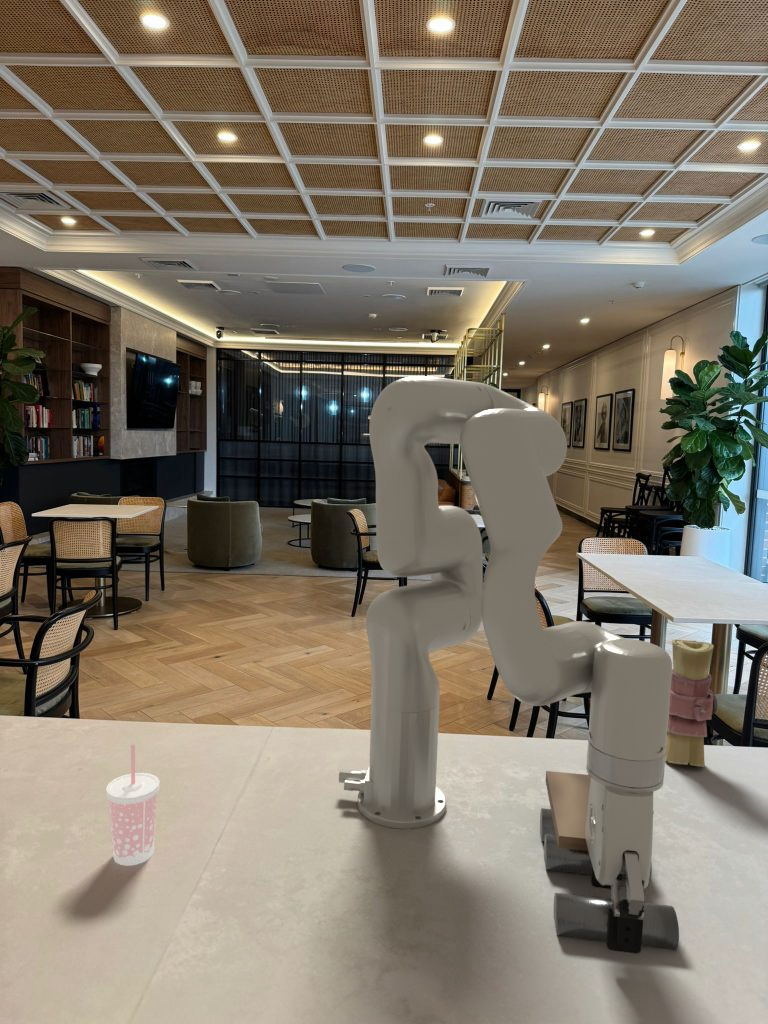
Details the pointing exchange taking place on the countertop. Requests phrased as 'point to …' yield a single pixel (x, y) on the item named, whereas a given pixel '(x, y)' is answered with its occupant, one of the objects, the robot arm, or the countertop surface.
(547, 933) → the countertop surface
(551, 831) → the cylinder
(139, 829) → the beverage cup
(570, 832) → the slab
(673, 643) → the scroll
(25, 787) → the countertop surface
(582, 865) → the roller front
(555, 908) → the roller
